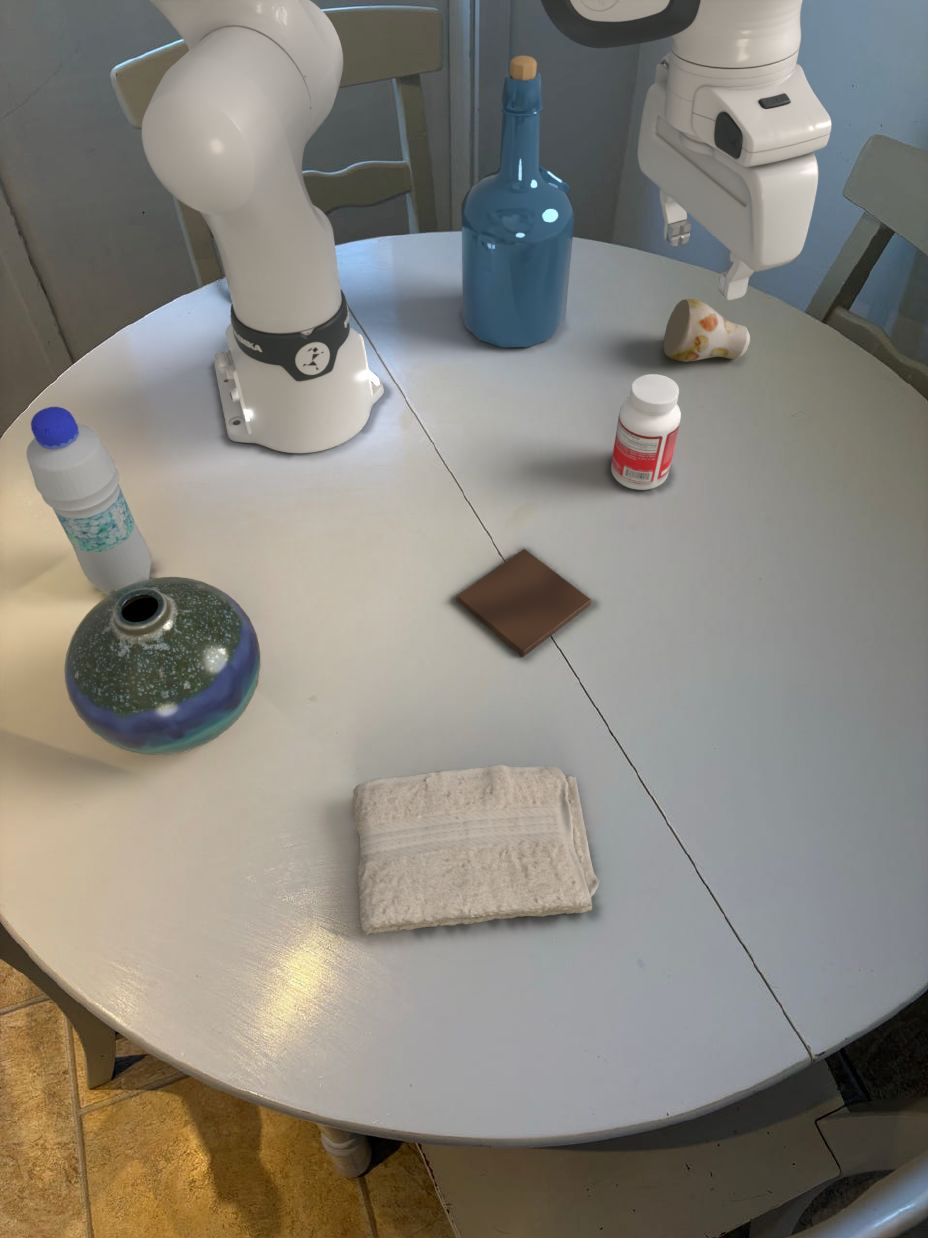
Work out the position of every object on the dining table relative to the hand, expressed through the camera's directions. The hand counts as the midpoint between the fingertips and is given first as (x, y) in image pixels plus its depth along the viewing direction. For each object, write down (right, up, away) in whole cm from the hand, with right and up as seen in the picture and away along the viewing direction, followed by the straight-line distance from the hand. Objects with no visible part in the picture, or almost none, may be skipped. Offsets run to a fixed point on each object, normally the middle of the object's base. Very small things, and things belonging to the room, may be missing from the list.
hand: (702, 267), depth 75 cm
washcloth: (-20, -48, -6) cm, 52 cm away
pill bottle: (-1, -14, +21) cm, 25 cm away
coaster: (-15, -28, +9) cm, 33 cm away
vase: (-45, -37, +3) cm, 58 cm away
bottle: (-54, -26, +12) cm, 61 cm away
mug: (+9, +2, +34) cm, 35 cm away
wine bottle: (-14, +8, +38) cm, 41 cm away
